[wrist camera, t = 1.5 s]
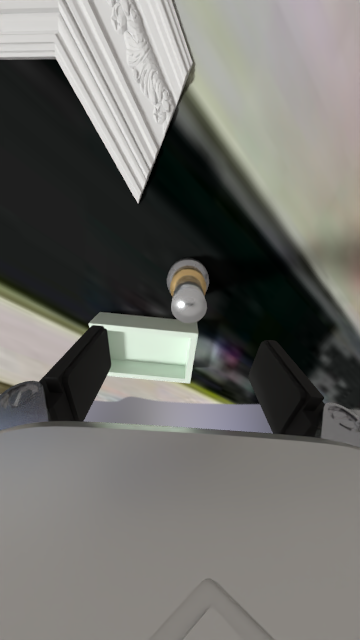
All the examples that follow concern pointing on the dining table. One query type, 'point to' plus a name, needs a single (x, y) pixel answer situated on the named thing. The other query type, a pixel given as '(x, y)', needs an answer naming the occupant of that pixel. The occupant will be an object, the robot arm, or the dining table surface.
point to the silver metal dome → (187, 262)
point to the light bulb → (188, 294)
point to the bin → (149, 346)
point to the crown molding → (109, 67)
